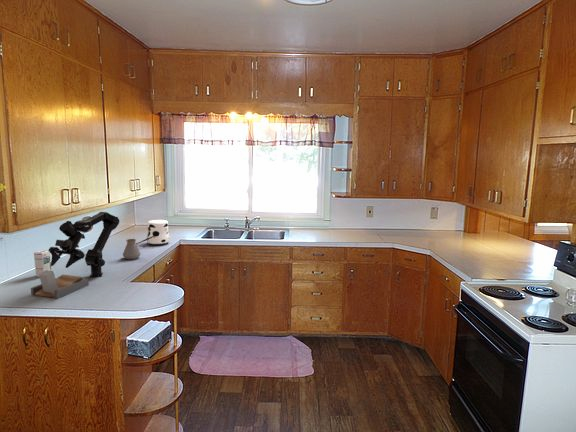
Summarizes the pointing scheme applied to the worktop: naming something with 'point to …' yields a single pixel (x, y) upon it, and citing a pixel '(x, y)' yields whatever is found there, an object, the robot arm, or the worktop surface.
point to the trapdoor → (60, 284)
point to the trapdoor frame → (64, 288)
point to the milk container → (158, 232)
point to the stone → (48, 281)
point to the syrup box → (42, 261)
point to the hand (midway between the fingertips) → (58, 266)
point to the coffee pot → (132, 249)
